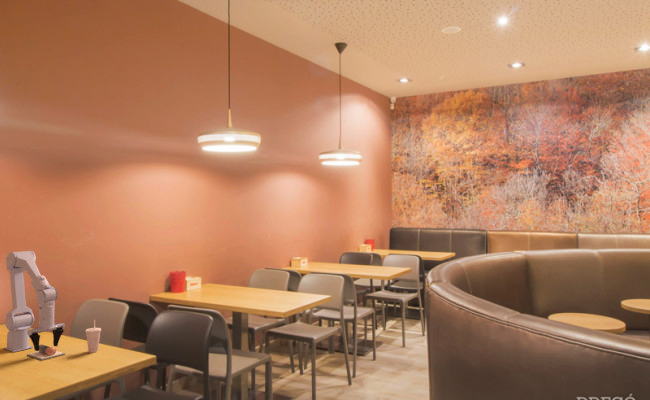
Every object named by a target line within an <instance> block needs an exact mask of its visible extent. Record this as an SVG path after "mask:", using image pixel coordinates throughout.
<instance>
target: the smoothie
mask: <svg viewBox="0 0 650 400" xmlns="http://www.w3.org/2000/svg"><path fill="white" fill-rule="evenodd" d="M84 332H85V334H86V335H85V336H86V341H87V342H86V343H87V344H86V345H87V350H88V353H91V354H93V353H97V352H98V351H99V347H100V346H99V345H100V340H101V339H100V338H101V332H102V327H96V319H93V327H91V328H87V329H85V331H84Z"/></svg>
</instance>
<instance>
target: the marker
mask: <svg viewBox="0 0 650 400" xmlns="http://www.w3.org/2000/svg"><path fill="white" fill-rule="evenodd" d="M56 351H57V350H56V348H55V347H51V346H48V345H45V344H39V352H42V353H45V354H48V355H54V354H55V353H56Z"/></svg>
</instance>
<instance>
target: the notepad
mask: <svg viewBox="0 0 650 400" xmlns="http://www.w3.org/2000/svg"><path fill="white" fill-rule="evenodd" d="M26 356H28V357H30V358H32V359H36V360H39V361H46V360H51V359H54V358H57V357H62V356H66V353H64V352H61V351H58V350H56V353H55V354H54V355H48V354H45V353H42V352H39V351H34V352H30V353H28V354H26Z"/></svg>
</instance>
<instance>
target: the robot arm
mask: <svg viewBox="0 0 650 400" xmlns="http://www.w3.org/2000/svg"><path fill="white" fill-rule="evenodd" d="M36 261H37V256H36V253H35V252H34V251H33V250H25V251H23V250H22V251H10V252H8V254H7V256H6V257H5V264H6V271H8V272H9V278H10V279H9V281H10V291H11V303H12V307H11V309H10V310H9V311H8V312H6V315H5V322H4V325H5V327H6V329H7V330H8V332H7V334H6V347H4V350H7V351H9V352H13V353H16V352H19V351H23V350H29V349H33V348H34V352H38V351H39V345H40V339H41V335H40V334H41V333H45V332H46V333H47V332H50V331H52V336H53V342H52V343H53V347H58V345H59V342H60V339H61V337H62V335H63V333H64V332H65V331H64V329H65V328H66V324H65V323H63V322H62V323H55V311H56V310H55V309H56V306H55V304H56V303H55V302H56V301H57V300H58V297H59V295H58V294H59V293H58V290H57V288H56V287H54V286H51V284H50V283H49V281H48V279H47V278H46V276H45V275H41V272H40V271H39V270H40V269H39V268H38V266H37V263H36ZM25 271H26V273H27V274H28V276H29V277H30V278H31V281H30V284H31V286H32V288H33V289H34V291H35V293H36V295H35V298H36V301H37V306H38V327H33V328H32V326H33V325H34V322H35V315H34V313H33V309H32V308H30V307H29V306H27V301H26V290H25V278H24V272H25ZM30 340H31V342H32V345H30Z"/></svg>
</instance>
